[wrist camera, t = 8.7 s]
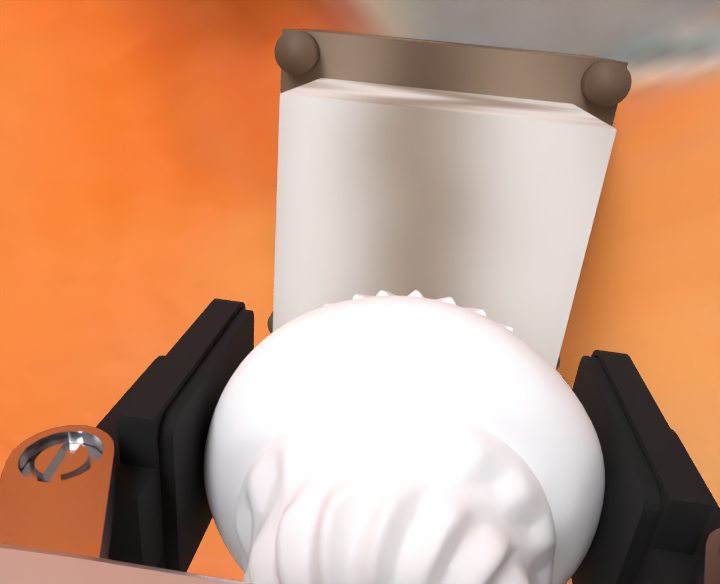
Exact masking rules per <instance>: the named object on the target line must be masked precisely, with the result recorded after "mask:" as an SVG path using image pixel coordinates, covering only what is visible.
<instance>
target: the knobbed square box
mask: <svg viewBox="0 0 720 584" xmlns="http://www.w3.org/2000/svg"><path fill="white" fill-rule="evenodd" d="M275 58H276V61H277V63H278V65H279V66H280V68H281V94H280V110H279V143H278V176H277V208H276V241H275V274H274V307H273V312H272V314H271V315H270V317H269V319H268V329H269V331H270V333H273V332H274V331H275V330H277V329H278V328H280V327H281V326H283V325H284V324H286V323H287V322H289V321H291V320H293V319H295V318H297V317H299V316H301V315H303V314H305V313H308V312H310V311H312V310H315V309H318V308H321V307H323V306H324V305H325V304H331V303H338V302H342V301H347V300H352V299H353V297H354V296H355V295H356V294H363V295H370V296H376V295H377V294H378V292H379V291H380V290H384V291H387V292H390V293H392V294H394V295H396V296H408V295H409V294H411V293H412V292H413V291H415V290H417V291H419V292H420V293H421V294H422V295H423V297H424V298H429V299H435V300H436V299H440V298H446V297H452V298H453V299H454V301H455V303H456V305H457V306H460V307H464V308H477V309H483V310H484V311H485V313H486V316H487V318H489V319H491V320H493V321H495V322H497V323H498V324H502V325H506V326H510V327H511V328H513V329H514V333H515V334H516V335H517V336H519V337H520V338H521V339H523V340H524V341H525V342H527V343H528V344H529V345H531V346H532V347H533V348H534V349H536V350H537V351H538V352H539V353H540V354H541V355H542V356H543V357H544V358H545V359H546V360H547V361H548V362H549V363H550V364H551V365H552V366H553V367H554V368H555V369H556V370H557V368H558V366H559V363H560V358H559V354H560V350H561V346H562V342H563V338H564V334H565V330H566V326H567V323H568V319H569V315H570V311H571V307H572V303H573V299H574V295H575V291H576V287H577V283H578V279H579V276H580V272H581V268H582V264H583V260H584V256H585V252H586V248H587V244H588V240H589V236H590V233H591V229H592V225H593V221H594V217H595V213H596V209H597V205H598V201H599V197H600V193H601V189H602V186H603V182H604V178H605V174H606V170H607V166H608V162H609V158H610V154H611V150H612V146H613V142H614V139H615V135H616V131H617V129H615V128H613V127H612V124H613V120H614V116H615V112H616V108H617V104H618V103H619V102H621V101H622V100H623V99H624V98H625V97H626V96H627V94H628V92H629V90H630V87H631V75H630V73H629V71H628V69H627V65H628V63H627V62H621V61H616V60H610V59H604V58H599V57H593V56H586V55H575V54H565V53H555V52H544V51H534V50H523V49H513V48H503V47H492V46H482V45H472V44H461V43H451V42H440V41H430V40H420V39H409V38H399V37H389V36H378V35H368V34H357V33H347V32H337V31H326V30H316V29H283V31H282V36H281V37H280V38H279V39H278V41H277V43H276V46H275Z"/></svg>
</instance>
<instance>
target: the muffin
mask: <svg viewBox="0 0 720 584" xmlns="http://www.w3.org/2000/svg"><path fill="white" fill-rule="evenodd" d="M203 471H204V483H205V490H206V495H207V499H208V503H209V506H210V510H211V513H212V516H213V518H214V521H215V524H216V526H217V529H218V531H219V533H220V535H221V537H222V539H223V541H224V543H225V545H226V547H227V548H228V550H229V552H230V553H231V555H232V556H233V558H234V559H235V561H236V562H237V564H238V565H239V566H240V567H241V569H242V570H243V571H244V572H245V576H244V580H243V582H247V583H253V584H565V583H566V582H567V581H568V580H569V579H570V578H571V577H572V575H573V574H574V573H575V571H576V570H577V568H578V567H579V565H580V564H581V562H582V561H583V559H584V557H585V555H586V553H587V551H588V549H589V547H590V545H591V543H592V540H593V538H594V535H595V533H596V530H597V527H598V523H599V520H600V516H601V511H602V507H603V500H604V492H605V467H604V460H603V454H602V450H601V446H600V442H599V439H598V436H597V434H596V431H595V429H594V426H593V424H592V422H591V420H590V418H589V416H588V415H587V413H586V411H585V409H584V407H583V405H582V404H581V402H580V401H579V399H578V398H577V396H576V395H575V393H574V392H573V391H572V389H571V388H570V387H569V385H568V384H567V383H566V381H565V380H564V379H563V378H562V376H561V375H560V374H559V373H558V371H557V370H556V369H555V368H554V367H553V366H552V365H551V364H550V363H549V362H548V361H547V360H546V359H545V358H544V357H543V356H542V355H541V354H540V353H539V352H538V351H537V350H536V349H534V348H533V347H532V346H531V345H529V344H528V343H527V342H525V341H524V340H523V339H521V338H520V337H519V336H517V335H516V334H515V333H514V329H513V328H511V327H510V326H506V325H502V324H498V323H497V322H495V321H493V320H491V319H489V318H487V316H486V313H485V311H484V310H483V309H477V308H464V307H460V306H457V305H456V303H455V301H454V299H453V298H452V297H446V298H440V299H436V300H435V299H429V298H424V297H423V295H422V294H421V293H420V292H419V291H417V290H415V291H413V292H412V293H411V294H409V295H408V296H396V295H394V294H392V293H390V292H387V291H384V290H380V291H379V292H378V294H377V295H376V296H370V295H363V294H356V295H355V296H354V297H353V299H352V300H347V301H342V302H338V303H331V304H325V305H324V306H323V307H321V308H318V309H315V310H312V311H310V312H308V313H305V314H303V315H301V316H299V317H297V318H295V319H293V320H291V321H289V322H287V323H286V324H284V325H283V326H281V327H280V328H278V329H277V330H275V331H274V332H273V333H271V334H270V335H269V336H268V337H266V338H265V339H264V340H263V341H262V342H261V343H259V344H258V345H257V346H256V347H255V348H254V349H253V350H252V351H251V352H250V353H249V354H248V355H247V357H246V358H245V359H244V360H243V361H242V363H241V364H240V365H239V367H238V368H237V369H236V371H235V372H234V374H233V375H232V377H231V378H230V380H229V381H228V383H227V385H226V386H225V388H224V390H223V392H222V394H221V397H220V399H219V401H218V403H217V406H216V408H215V411H214V414H213V417H212V419H211V423H210V426H209V430H208V434H207V439H206V444H205V451H204V463H203Z"/></svg>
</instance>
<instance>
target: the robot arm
mask: <svg viewBox="0 0 720 584" xmlns="http://www.w3.org/2000/svg"><path fill="white" fill-rule="evenodd" d="M253 349H254V313H253V311H250V310H246V309H245V304H244V303H243V302H237V301H230V300H222V299H214V300H213V301H212V302H211V303H210V304H209V305H208V307H207V308H206V309H205V310H204V311H203V313H202V314H201V315H200V316H199V317H198V318H197V320H196V321H195V322H194V323H193V324H192V325H191V327H190V328H189V329H188V330H187V331H186V332H185V334H184V335H183V336H182V337H181V338H180V340H179V341H178V342H177V343H176V344H175V345H174V347H173V348H172V349H171V350H170V351H169V352H168V354H167V355H166V356H159V357H158V358H156V359H155V360H154V361H153V362H152V364H151V365H150V366H149V367H148V368H147V369H146V370H145V372H144V373H143V374H142V375H141V376H140V377H139V378H138V380H137V381H136V382H135V383H134V384H133V385H132V386H131V388H130V389H129V390H128V391H127V392H126V393H125V394H124V396H123V397H122V398H121V399H120V400H119V401H118V402H117V404H116V405H115V406H114V407H113V408H112V409H111V410H110V412H109V413H108V414H107V415H106V416H105V417H104V418H103V420H102V421H101V422H100V423H99V424H98V425H97V426H96V428H95V427H91V426H86V425H67V426H62V427H56V428H52V429H49V430H46V431H43V432H40V433H37V434H35V435H34V436H32V437H30V438H28V439H26V440H24V441H23V442H22V443H21V444H20V445H18V446H17V447H16V448H15V449H14V450H13V451H12V453H11V454H10V456H9V457H8V459H7V461H6V463H5V466H4V469H3V471H2V474H1V477H0V584H253V583H247V582H241V581H235V580H229V579H223V578H217V577H211V576H205V575H199V574H193V573H187V572H186V571H187V570H188V568H189V566H190V563H191V561H192V559H193V557H194V555H195V553H196V551H197V549H198V547H199V544H200V542H201V540H202V538H203V536H204V534H205V532H206V530H207V528H208V525H209V523H210V521H211V519H212V517H213V516H212V513H211V510H210V506H209V503H208V499H207V495H206V490H205V483H204V471H203V463H204V451H205V444H206V439H207V434H208V430H209V426H210V423H211V419H212V417H213V414H214V411H215V408H216V406H217V403H218V401H219V399H220V397H221V394H222V392H223V390H224V388H225V386H226V385H227V383H228V381H229V380H230V378H231V377H232V375H233V374H234V372H235V371H236V369H237V368H238V367H239V365H240V364H241V363H242V361H243V360H244V359H245V358H246V357H247V355H248V354H249V353H250V352H251V351H252V350H253ZM572 391H573V392H574V393H575V395H576V396H577V398H578V399H579V401H580V402H581V404H582V405H583V407H584V409H585V411H586V413H587V415H588V416H589V418H590V420H591V422H592V424H593V426H594V429H595V431H596V434H597V436H598V439H599V442H600V446H601V450H602V454H603V460H604V467H605V492H604V500H603V507H602V511H601V516H600V520H599V523H598V527H597V530H596V533H595V535H594V538H593V540H592V543H591V545H590V547H589V549H588V551H587V553H586V555H585V557H584V559H583V561H582V562H581V564H580V565H579V567H578V568H577V570H576V571H575V573H574V574H573V575H572V577H571V578H572V583H573V584H720V508H719V506H718V505H717V503H716V501H715V499H714V498H713V496H712V494H711V492H710V491H709V489H708V487H707V486H706V484H705V482H704V480H703V479H702V477H701V475H700V473H699V472H698V470H697V468H696V466H695V465H694V463H693V461H692V460H691V458H690V456H689V454H688V453H687V451H686V449H685V447H684V446H683V444H682V442H681V440H680V439H679V437H678V435H677V434H676V433H675V432H674V430H672V429H670V427H669V425H668V423H667V422H666V420H665V418H664V416H663V415H662V413H661V411H660V409H659V408H658V406H657V404H656V402H655V401H654V399H653V397H652V395H651V393H650V392H649V390H648V388H647V386H646V385H645V383H644V381H643V379H642V378H641V376H640V374H639V372H638V371H637V369H636V367H635V365H634V364H633V362H632V360H631V358H630V357H629V355H628V354H623V353H615V352H608V351H601V350H595V351H594V352H593V354H592V355H591V357H589V356H583V357H582V359H581V361H580V364H579V368H578V371H577V375H576V379H575V382H574V386H573V390H572Z"/></svg>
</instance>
